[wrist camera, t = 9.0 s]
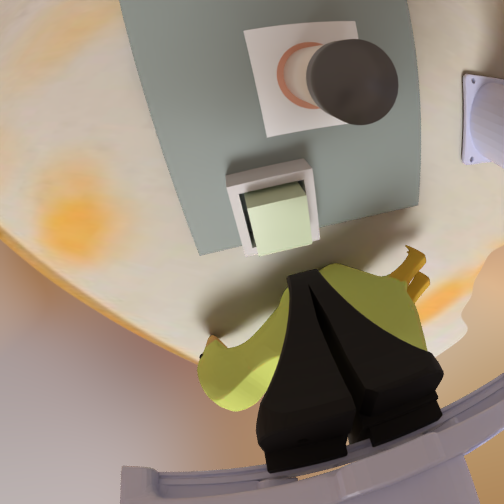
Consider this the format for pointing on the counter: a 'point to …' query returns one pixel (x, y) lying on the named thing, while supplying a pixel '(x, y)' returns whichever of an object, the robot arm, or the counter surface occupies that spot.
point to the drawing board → (271, 110)
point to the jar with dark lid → (344, 80)
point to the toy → (274, 329)
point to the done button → (279, 218)
